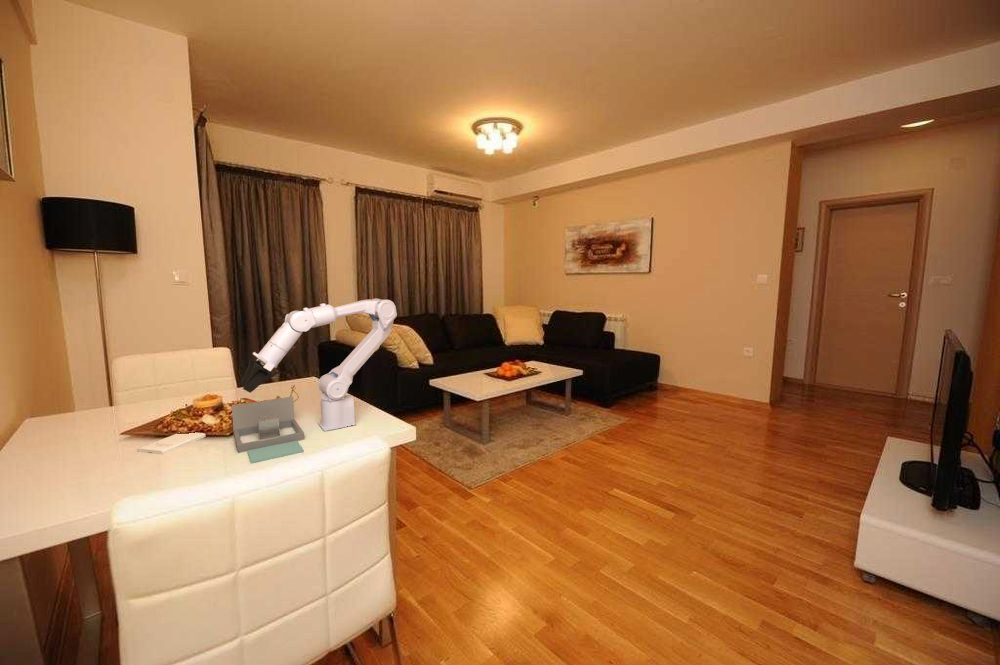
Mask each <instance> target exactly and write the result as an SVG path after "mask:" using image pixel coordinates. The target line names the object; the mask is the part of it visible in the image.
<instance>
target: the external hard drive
mask: <svg viewBox="0 0 1000 665" xmlns="http://www.w3.org/2000/svg"><path fill="white" fill-rule="evenodd" d="M204 438H206V433H203V432H195V433H189V434H177V433H175V434H172V435H169V436H167V437H164V438H162V439H159V440H157V441H155V442H152V443H148V444H145V445H144V446H141V447H139V448H137V449H136V450H137V453H145V454H149V453H150V454H155V455H156V454H157V455H165V454H168V453H170V452H172V451H175V450H177V449H180V448H182V447H184V446H185V447H186V445H189V444H192V443H194V442H196V441H199V440H202V439H204Z"/></svg>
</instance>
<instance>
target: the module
mask: <svg viewBox="0 0 1000 665" xmlns="http://www.w3.org/2000/svg"><path fill="white" fill-rule="evenodd" d="M257 428H258V433H257V439H258V440H263V439H268V438H273V437H278V436H281V435H280V432H281V431H280V429H279V418H278V416H277V414H276V415H270V416H264V417H258V418H257Z"/></svg>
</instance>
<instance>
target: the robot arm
mask: <svg viewBox="0 0 1000 665" xmlns="http://www.w3.org/2000/svg"><path fill="white" fill-rule="evenodd" d="M360 313H364V314H368V316H369V319H370V321H371V325H372V326H371V327H372V329H371V330H370V332H368V333H367V334H366V336H365V337H364V338H362V340H361V341H360V342H359V343H358V345H357V346H355V348H354V349H353V350H352V351H351V352H350V353H349V354H348V356H347V357H346V358H345V359H344V360H343V361H342V362H341V363H340V365H338V366H336V367H334V368H332V369H331V370H330V371H329V372H328V373H326V374H324V375H322V376H320V378H319V380H318V382H317V387H318V390H319V391H320V392H321V395H320V414H321V415H320V416H321V421H319V422H317V424H318V426H319V427H320V428H321V429H322V430H323V432H326V431H332V430H333V431H334V430H336V429H337V430H338V429H342V428H347V426H348V427H352V426H351V425H353V426H356V425H357V423H356V419H355V418H356V415H355V413H356V412H355V400H354V397H353V396H352V395H350V394H347V393H348V391H349V387H350V385H352V383H353V380H354V379H353V378H354V376H355V375H356V374H357V372H358V371H359V370H360V369H361V367H362V366H363V365H364V364H366V362H367V361H368V360H369V358H370V357H371V356H372V355H373V354H374V353H375V352H376V351H377V350H378V348H379V347H381V345H382V344H383V343H384V342H385V341H386V339H387V338H388V337H389V336H390V334H391V332H392V328H393V325H394V320H395V319H396V318H397V315H398V313H397V307H396V305H395V303H394V301H392V300H390V299H381V298H372V299H362V300H357V301H354V302H350V303H344V304H343V305H339V306H335V307H334V306H333V305H331V304H326V303H320V304H319V306H315V307H310V308H308V307H303V308H302V310H293V311H291V312H289V313H287V314H286V315H285V318H284V322H283V323H282V325H281V326H280V327H278V329H277V330H276V331H275V332H274V334H273V335H271V338H270V339H268V341H267V343H266V344H265V345H264V346H262V349H260V351H259V352H258V353H256V351H254V352H252V355H253V356H255V358H257V359H256V361H255V360H253V359H251V358H250V359H249V361H248V366H247V368H246V370H245V372H244V375H243V376H242V378H241V380H240V383H239V384H240V385H242V386H243V388H242V389H243V390H244V391H246V392H248V393H252V392H254V391H255V390H256V389H257V388H258V387H259V386H260V385H261V384H263V383H265V382H266V381H268V380H269V379H271V378H273V377H275V374H273V373H272V370H274V369H277V368H278V365H279V364H280V363H281V362H282V360H283V358H284V357H285V356H286V355H287V354H288V352H289V351H290V350H291V348H293V346H294V345H295V344H296V342H297V341H298V339H299V338H300V337H301V335H303V332H308V331H309V330H310V329H311V328H312V329H313V328H314V329H315V328H317V327H321V326H326V325H330V324H335V322H336V320H337V319H339V318H341V317H346V316H350V315H351V316H352V315H355V314H360ZM346 394H347V395H346ZM355 424H356V425H355Z"/></svg>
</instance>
